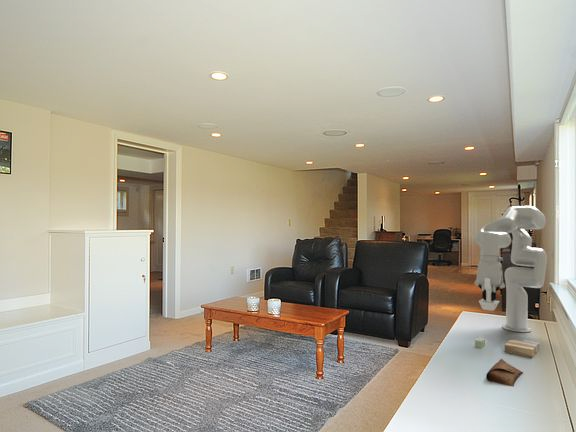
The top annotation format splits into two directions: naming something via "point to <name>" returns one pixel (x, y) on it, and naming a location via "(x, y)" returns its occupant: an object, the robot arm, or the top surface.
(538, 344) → the brick slate
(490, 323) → the top surface
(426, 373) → the top surface
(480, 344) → the brick sage
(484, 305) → the figurine
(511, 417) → the top surface
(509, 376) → the sunglasses case
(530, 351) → the oak pedestal
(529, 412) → the top surface
